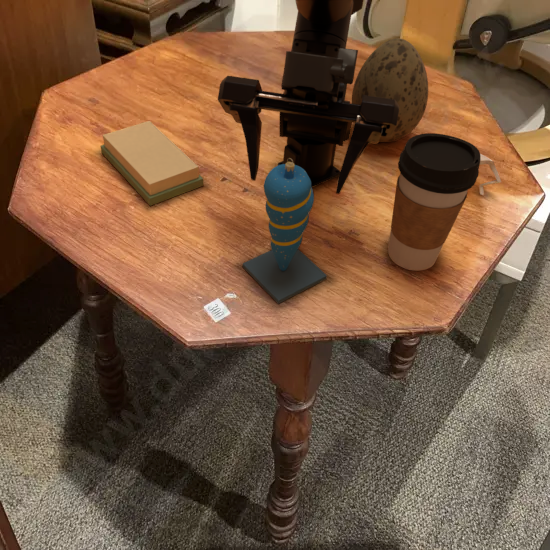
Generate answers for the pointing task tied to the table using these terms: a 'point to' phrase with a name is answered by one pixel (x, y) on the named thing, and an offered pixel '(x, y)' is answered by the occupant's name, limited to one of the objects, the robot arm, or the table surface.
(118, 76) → the table surface
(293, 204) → the ornament
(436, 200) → the coffee cup
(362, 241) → the table surface
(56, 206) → the table surface
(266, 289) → the mat
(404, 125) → the decorative egg
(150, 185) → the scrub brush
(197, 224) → the table surface
